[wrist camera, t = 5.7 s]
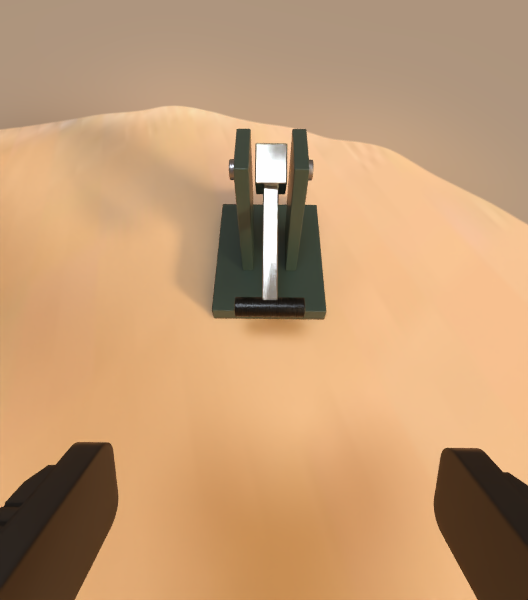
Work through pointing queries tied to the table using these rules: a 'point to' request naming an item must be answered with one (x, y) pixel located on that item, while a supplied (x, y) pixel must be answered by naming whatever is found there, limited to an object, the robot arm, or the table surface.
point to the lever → (270, 238)
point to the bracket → (249, 237)
